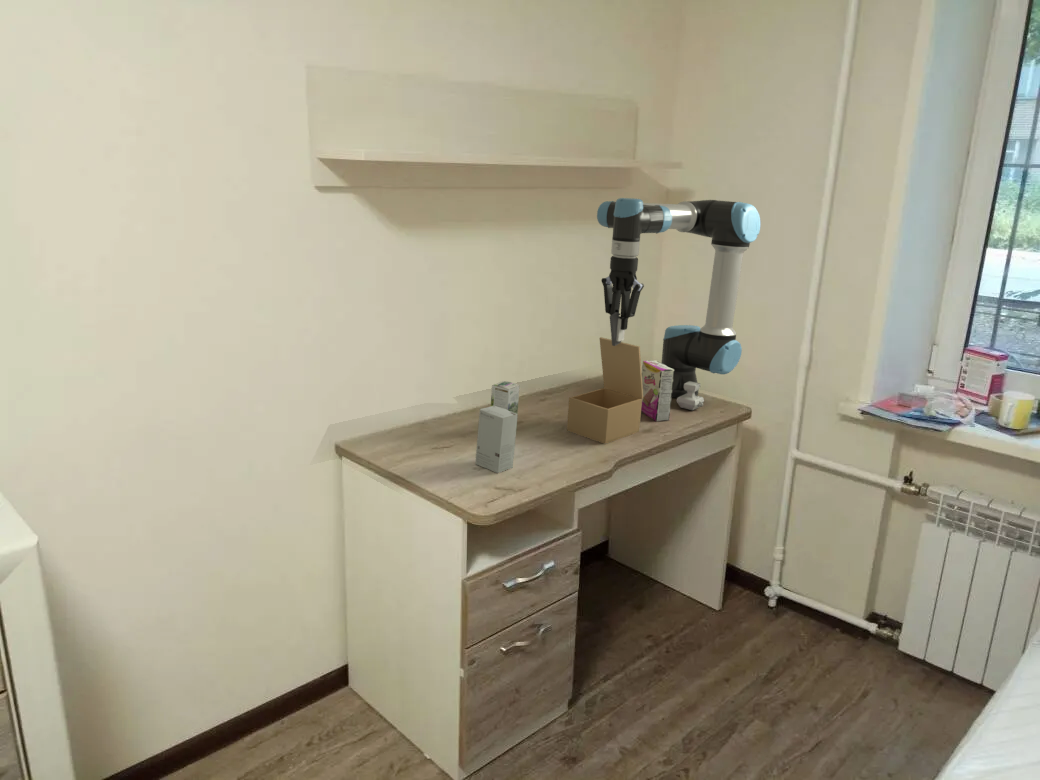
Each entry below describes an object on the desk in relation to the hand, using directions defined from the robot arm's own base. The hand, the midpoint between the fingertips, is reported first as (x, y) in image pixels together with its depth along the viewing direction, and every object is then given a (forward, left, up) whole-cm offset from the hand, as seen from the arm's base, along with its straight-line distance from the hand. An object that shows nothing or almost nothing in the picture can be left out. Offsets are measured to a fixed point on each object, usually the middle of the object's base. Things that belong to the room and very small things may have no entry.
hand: (617, 339), depth 224 cm
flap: (+1, 0, -5) cm, 5 cm away
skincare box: (+46, -1, -27) cm, 54 cm away
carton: (+3, 0, -27) cm, 27 cm away
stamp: (-37, +4, -27) cm, 46 cm away
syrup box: (+27, -17, -27) cm, 42 cm away
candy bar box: (-21, +1, -27) cm, 34 cm away
